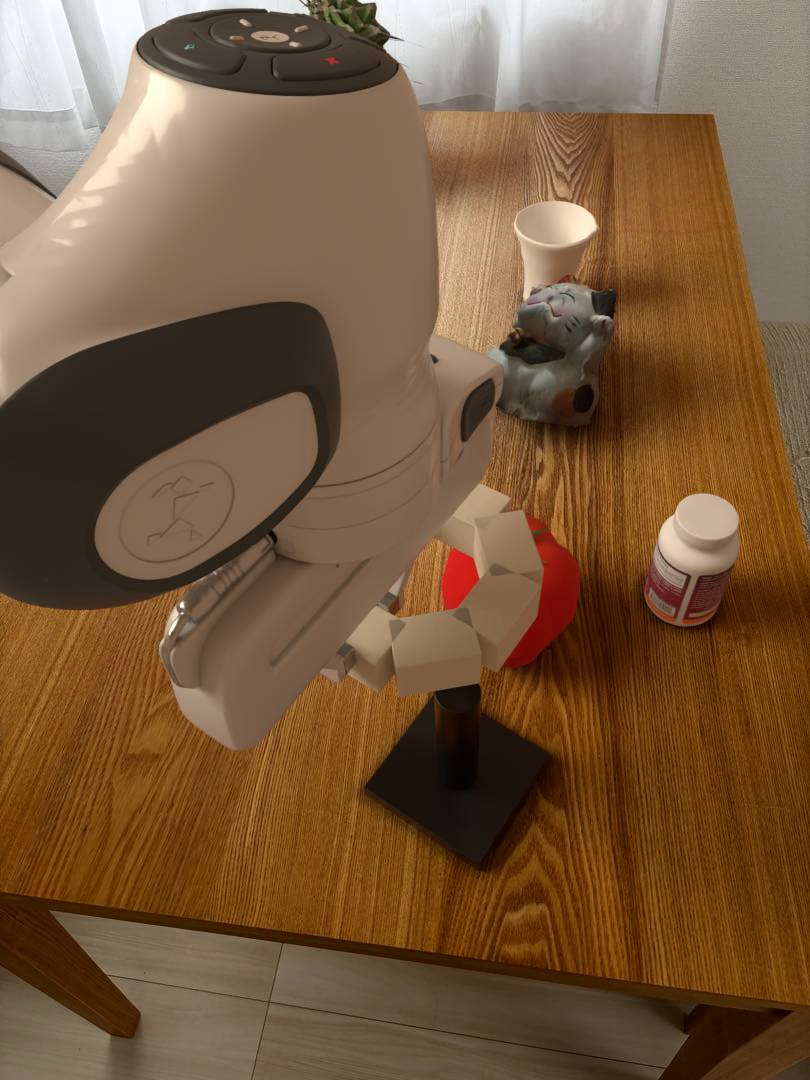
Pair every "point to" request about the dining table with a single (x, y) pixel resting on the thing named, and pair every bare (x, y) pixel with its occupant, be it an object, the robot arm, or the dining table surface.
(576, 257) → the cup
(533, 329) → the lucky cat figurine
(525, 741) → the post
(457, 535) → the ring
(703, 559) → the pill bottle
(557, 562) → the tomato
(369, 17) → the potted plant
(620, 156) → the dining table surface
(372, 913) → the dining table surface
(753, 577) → the dining table surface
